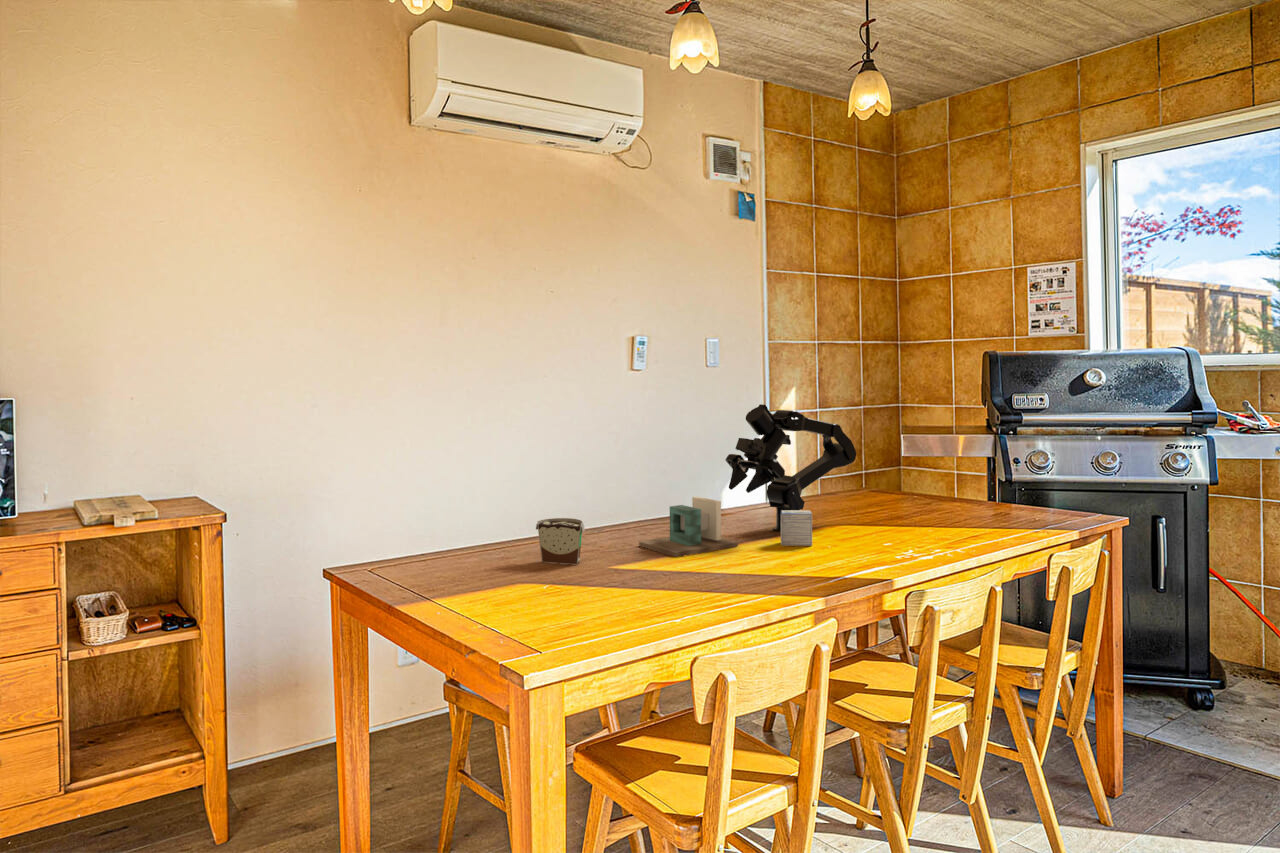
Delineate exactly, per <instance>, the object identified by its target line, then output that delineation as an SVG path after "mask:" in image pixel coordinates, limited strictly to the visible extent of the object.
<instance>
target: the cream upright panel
mask: <svg viewBox="0 0 1280 853" xmlns="http://www.w3.org/2000/svg"><path fill="white" fill-rule="evenodd" d="M691 501H692V502H691V507H694V508H698V509H701V536H702V537H705V538H709V539H713V540H721V538H722V501H721V500H716V499H710V498H707V497H702V496H701V497H700V496H693V497H692V498H691ZM680 526H681V530H684V531H685V516H682V515H680Z"/></svg>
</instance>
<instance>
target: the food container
mask: <svg viewBox="0 0 1280 853" xmlns="http://www.w3.org/2000/svg"><path fill="white" fill-rule="evenodd" d="M535 530H537V531H538V540H539V548H540V549H539V550H540V555H541V556H540V558H541V563H542V562H549V563H548V564H555V563H560V565H568V564H572V565H573V566H578V564H579V565H580V561H581V548H582V537H583V533H584V532H585V531H586V528H585V525H584V522H583V521H582V519H577V518H568V517H567V518H566V517H555V518H545V519H540V520H537V523H536V525H535ZM572 565H571V566H572Z"/></svg>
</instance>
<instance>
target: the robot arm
mask: <svg viewBox="0 0 1280 853" xmlns="http://www.w3.org/2000/svg"><path fill="white" fill-rule="evenodd" d="M745 420H746V422H747V423H748V424H749V426H750V427H751V428H752V429H753V431H754V432H755V434H756V435H758V436H762V437H761V438H758V437H754V438H753V439H751V438H750V439H749V438H744V437H743V438H742V437H738V440H737V443H736V446H735V448H734V449H735V450H736V451H740V452H742V453H744V454H743V456H744V457H743V456H742V455H741V454H736V453H735V454H734V453H729V454H728V455H727V456H726V458H725V462H726V463H727V464H728V465H729V467H730V468H731V469H732V472H731V477H730V481H729V485H728V488H729V490H730V491H732V490H733V489H735V488H736V487H737V486H739V484H741V483H743V481H744V480H745V479H746V478H747V477H748V474H747V473H748V471H749V470H750V469H751V470H754V471H755V473H754V475H753V476H752V478H751V479H750V481H749V483H748V485H747V486H746V488H745V491H746V493H748V494H750V493H751V492H753V491H755V490H756V489H758V488H760V487H763V486H764V485H766V484H768V483H769V484H768V486H767V489H766V498H767V500H768V503H769V507H770V508H776V510H775V512H776V514H775V515H776V516H775V518H776V522H775V523H776V524H775V525H776V526H774V527H773V528H772V529H771V530H772V531H776V532H781V510H803V509H804V507H805V500H804V499H803V498H802V496H801V495H802V491H803V490H804V489H806V488H808V487H809V486H810V485H811V484H813V483H814V482H816V481H818V480H819V479H820V478H821V477H823V476H825V475H826V474H828V473H829V472H830V471H832V470H835V469H839V468H842V467H847V466H849V465H851V464H852V463H854V462H855V460H856V458H857V450H856V448H855V446H854V444H853V442H852V439H850V438H849V437H848V435H847V434H845V432H844V431H843V428H842V427H841V425H839V424H838V423H833V422H832V423H831V422H826V421H822V420H817V419H815V418H814V419H813V418H808V417H806V416H805V415H804V414H803V413H801V412H799V411H797V410H789V409H787V410H786V409H777V410H775V412H774V413H772V412H771V411H770V410H769V408H768V406H767V405H766V404H761V403H760V404H759V405H758V406H757V407H754V408H752V409H751V410H749V411H748V412H747V414H746V415H745ZM785 431H786V432H801V431H802V432H807V433H811V434H816V435H820V436H822V438H823V439H822V447H823V451H822V456H820V457H819V458H817V459H816V460H815V461H813V462H811V463H810V464H808V465H807V466H805V467H804V468H802V469H801V470H800V471H798V472H796V473H795V474H794V475H786V470H785V468H784V467H783V466H782V464H781V463H780V462H779V461H778V458H779V456H778V455H777V454H778V452H779V451H780V449H781V447H782V446H783V445H785V446H787V445H788V446H791V444H792V441H791V438H790V434H786V432H785ZM832 438H834V440H835V441H836V442H834V441H833V440H832ZM745 458H746V459H747V460H745Z"/></svg>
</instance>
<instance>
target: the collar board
mask: <svg viewBox="0 0 1280 853" xmlns="http://www.w3.org/2000/svg"><path fill="white" fill-rule="evenodd" d="M680 515H682V516H685V531H684V530H681V526H680ZM638 546H639V547H641V548H644V547H645V548H644V549H647V548H648V549H647V550H650V549H651V550H652V551H654V550H655V551H654V552H657V551H658V553H660V552H661V554H664V553H665V554H664V555H667V554H668V556H670V555H672V556H671V557H673V556H675V557H674V558H679V557H678V556H681V557H685V556H684V555H687V556H691V555H690V554H692V555H697V554H696V553H698V554H702V552H704V553H709V552H708V551H710V552H714V551H713V550H715V551H720V550H719V549H721V550H726V549H725V548H727V549H731V548H730V547H732V548H737V547H736V546H738V547H739V541H736V540H734V539H733V540H732V539H728V538H723V537H721V540H713V539H709V538H705V537H702V536H701V509H698V508H694V507H692V506H689V505H685V504H678V505H670V506H669V536H666V537H660V538H659V537H658V538H652V539H646V540H640V541H638Z"/></svg>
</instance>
